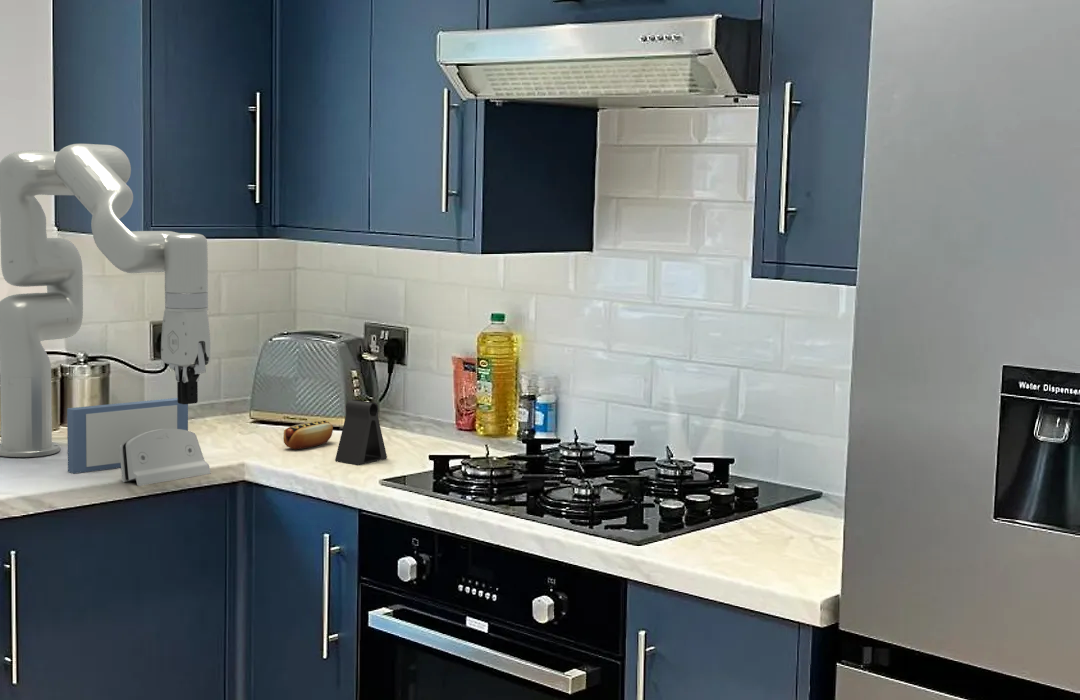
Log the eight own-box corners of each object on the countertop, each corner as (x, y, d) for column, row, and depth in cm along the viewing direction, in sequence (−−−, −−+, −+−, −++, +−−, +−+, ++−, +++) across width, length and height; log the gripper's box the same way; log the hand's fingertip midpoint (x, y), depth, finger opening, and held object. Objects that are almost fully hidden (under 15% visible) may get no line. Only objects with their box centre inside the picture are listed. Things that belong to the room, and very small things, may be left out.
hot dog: (338, 443, 305) (338, 420, 304) (297, 453, 294) (298, 429, 293) (320, 441, 308) (320, 418, 307) (279, 450, 296) (279, 426, 295)
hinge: (137, 486, 258) (126, 432, 259) (122, 490, 261) (111, 437, 262) (212, 473, 271) (201, 421, 272) (198, 477, 274) (187, 427, 275)
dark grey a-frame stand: (364, 455, 293) (365, 397, 292) (387, 459, 290) (388, 400, 288) (334, 461, 286) (335, 402, 284) (357, 465, 282) (358, 405, 281)
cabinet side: (67, 471, 269) (67, 408, 267) (181, 456, 285) (181, 397, 284) (74, 473, 267) (73, 410, 266) (188, 459, 284) (188, 399, 282)
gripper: (146, 300, 260) (148, 400, 262) (189, 306, 249) (190, 410, 252) (183, 298, 265) (184, 396, 267) (227, 304, 255) (227, 406, 257)
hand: (187, 403), depth 259 cm, fingers closed
